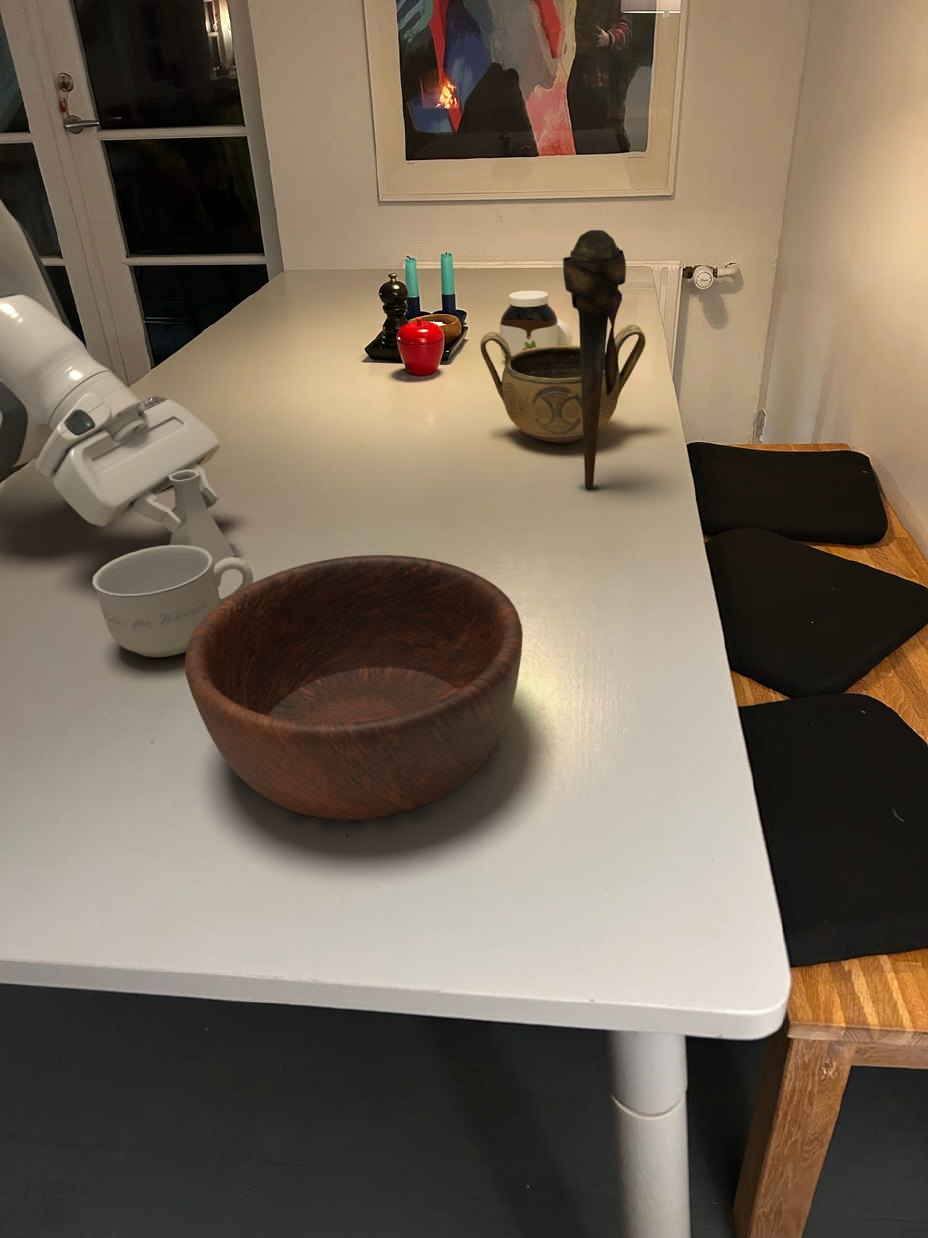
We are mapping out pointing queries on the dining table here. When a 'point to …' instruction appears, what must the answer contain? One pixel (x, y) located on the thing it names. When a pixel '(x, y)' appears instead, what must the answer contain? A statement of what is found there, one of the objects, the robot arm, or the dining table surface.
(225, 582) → the dining table surface
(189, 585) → the teacup
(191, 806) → the dining table surface
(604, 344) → the decorative torch
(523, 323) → the spread jar
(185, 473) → the flask
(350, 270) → the dining table surface
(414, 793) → the wooden bowl
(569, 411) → the ceramic bowl
